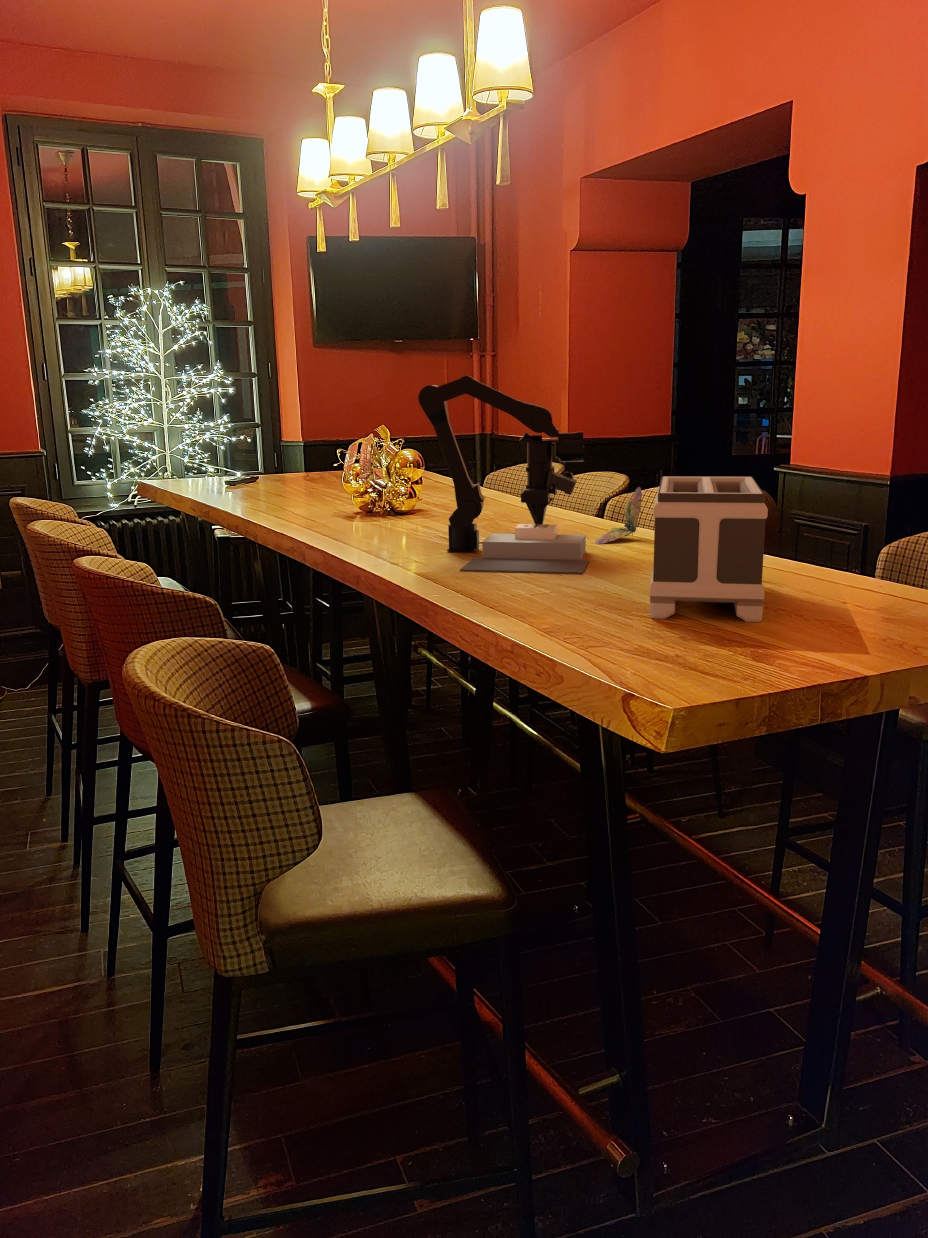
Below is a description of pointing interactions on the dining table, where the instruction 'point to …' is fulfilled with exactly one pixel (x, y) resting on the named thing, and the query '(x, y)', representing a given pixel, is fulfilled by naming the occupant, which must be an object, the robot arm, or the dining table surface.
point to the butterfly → (631, 517)
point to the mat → (526, 565)
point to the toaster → (708, 544)
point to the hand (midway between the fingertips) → (539, 529)
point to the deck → (534, 547)
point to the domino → (535, 531)
